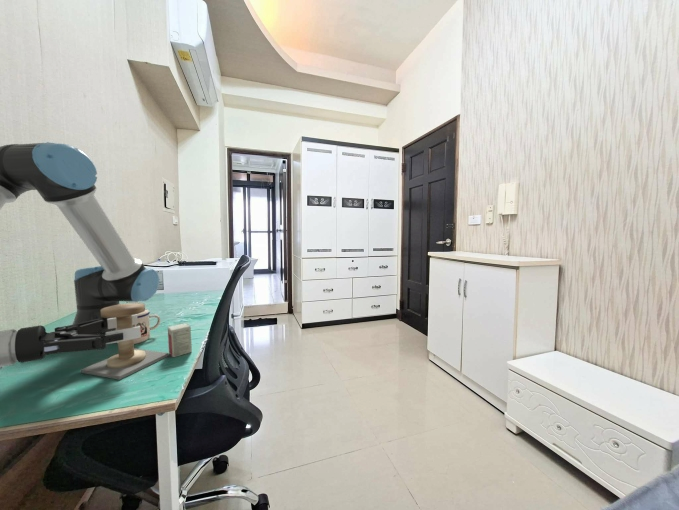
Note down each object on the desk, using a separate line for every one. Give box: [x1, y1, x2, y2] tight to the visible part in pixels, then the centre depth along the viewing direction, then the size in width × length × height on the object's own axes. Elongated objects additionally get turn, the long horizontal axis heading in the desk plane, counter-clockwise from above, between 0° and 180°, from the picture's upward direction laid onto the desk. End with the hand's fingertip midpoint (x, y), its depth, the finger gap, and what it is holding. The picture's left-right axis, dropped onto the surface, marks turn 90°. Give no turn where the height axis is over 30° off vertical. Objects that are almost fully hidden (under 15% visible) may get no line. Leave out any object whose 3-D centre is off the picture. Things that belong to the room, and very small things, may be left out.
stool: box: [101, 302, 146, 368], centre depth 70 cm, size 9×9×14 cm
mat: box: [80, 347, 170, 381], centre depth 71 cm, size 13×13×1 cm
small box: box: [167, 322, 192, 358], centre depth 77 cm, size 5×4×8 cm
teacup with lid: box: [115, 308, 161, 345], centre depth 87 cm, size 12×9×12 cm
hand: (139, 325), depth 72 cm, fingers open, 13 cm apart
